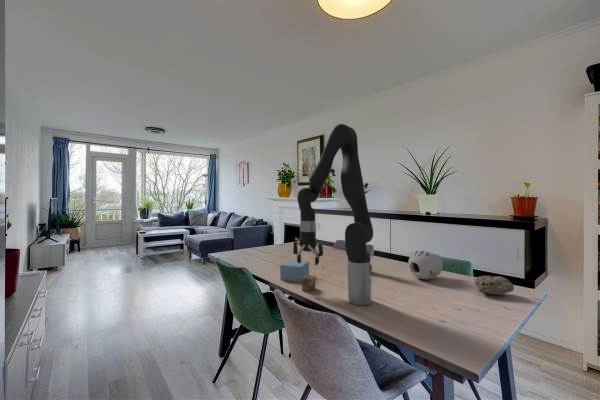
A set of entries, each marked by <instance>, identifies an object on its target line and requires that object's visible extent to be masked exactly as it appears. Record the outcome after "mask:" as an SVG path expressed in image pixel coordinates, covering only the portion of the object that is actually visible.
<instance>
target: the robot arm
mask: <svg viewBox="0 0 600 400" xmlns="http://www.w3.org/2000/svg"><path fill="white" fill-rule="evenodd" d="M358 144H359V143H358V135H357V132H356V131H355V129H354V128H352V127H351V126H349V125H347V124H345V123H340V124H337V125H335V126H334V127H333V128H332V129H331V132H330V134H329V136H328V139H327V142H326V144H325V146H324V149H323V152H322V154H321V156H320V158H319V161H318V162H317V164H316V166H315V168H314V169H313V171H312V173H311V175H310V176H309V178H308V183H309V185H308V187H303V188H300V189H299V190H298V192H297V197H296V198H297V204H298V208H299V212H300V217H299V218H300V221H299V241H298V240H295V241H294V242H293V249H292V251H293V252H292V253H293V254H294V255H296V260H297V262H298V263H301V261H302V253H303V252H310V253H311V252H312V254H313V255H314V265H315V266H318V265H319V263H320V257H322V256H323V255H324V249H323V247H324V246H323V243H322V242H319V243H318V242H317V236H316V235H317V225H316V211H315V210H316V209H314V208H313V207H312V203H314V202H316V201H317V199H319V196H320V193H321V191H322V187H323V185H324V184H325V183H326V181H327V179H328V177H329V176H330V173H331V172H332V166H333V164H334V163H333V162H334V161H335V160H334V159H335V158H336V155H337V153H338V152H339V150H341V155H342V165H341V166H342V167H341V171H340V185H341V191H342V194H343V198H344V199H345V200H346V202H347V204H348V206H349V207H350V209H351V212H352V215H353V222H352V223H349V224H348V225H347V226H346V228H345V231H344V232H345V233H344V243H345V244H344V245H345V254H346V256H347V288H348V289H347V294H348V295H347V298H348V299H347V301H348V303H350V304H351V305H356V306H371V303H372V277H371V274H372V273H371V272H370V264H371V254H370V253H368V251H367V252H366V251H365V243H366V244H368V243H369V242H371V241H372V240H373V238H374V228H373V224H372V220H371V217H370V213H369V210H368V203H367V198H366V193H365V185H364V180H363V174H362V168H361V162H360V159H359V149H358ZM299 246H300V249H299V250H298V248H299ZM316 246H317V248H318V249H317V248H316Z"/></svg>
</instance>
